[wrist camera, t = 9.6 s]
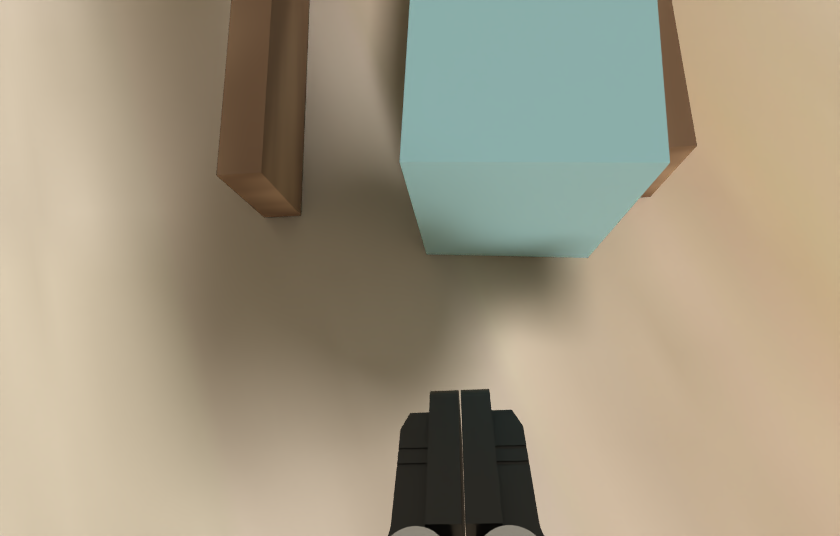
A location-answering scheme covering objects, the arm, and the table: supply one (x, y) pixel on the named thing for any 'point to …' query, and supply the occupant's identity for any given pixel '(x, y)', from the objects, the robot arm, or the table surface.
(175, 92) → the table surface
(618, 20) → the block
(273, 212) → the brown u-shaped block
